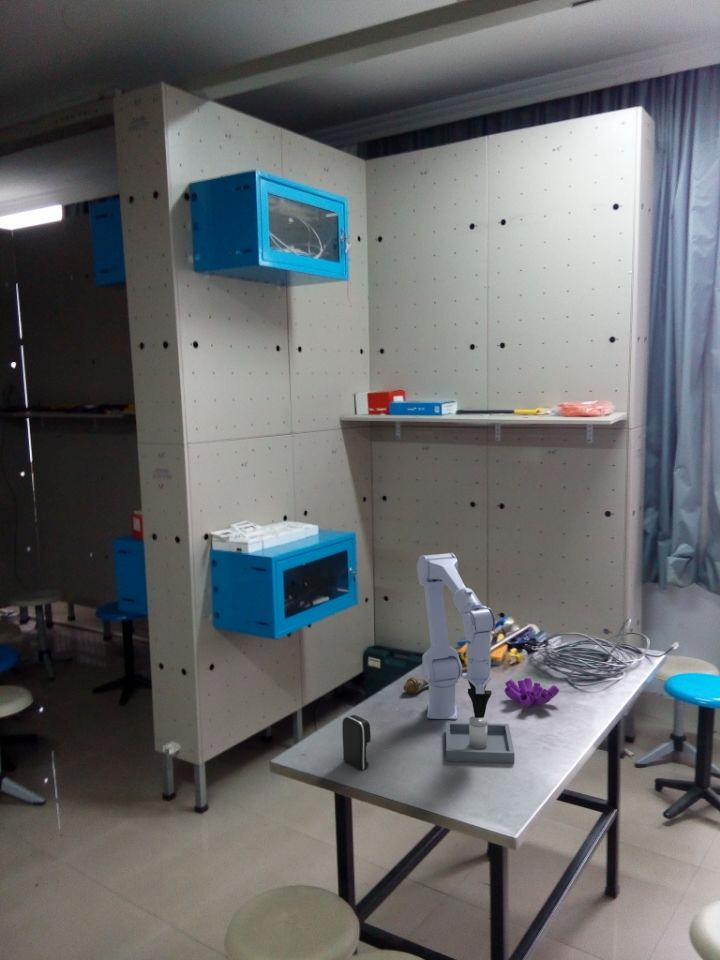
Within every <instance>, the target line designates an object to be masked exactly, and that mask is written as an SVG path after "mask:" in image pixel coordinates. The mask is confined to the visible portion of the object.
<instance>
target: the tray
mask: <svg viewBox="0 0 720 960" xmlns="http://www.w3.org/2000/svg"><path fill="white" fill-rule="evenodd" d="M511 735H512V734H511V729H510V725H509V723H489V722H487V747H485V748H482V749H476V748H473V747H471V746H470V745H469V722H454V721H449V722H447V721H446V722H445V745H446V747H445V748H446V749H445V752H446V755H445V757H446V758H445V760H446V762H465V763H466V762H467V763H469V762H470V763H471V762H472V763H491V764H492V763H494V764H515V749H514V744H513V739H512V736H511Z"/></svg>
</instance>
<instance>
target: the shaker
mask: <svg viewBox="0 0 720 960" xmlns="http://www.w3.org/2000/svg"><path fill="white" fill-rule="evenodd" d="M468 723H469V745H470V746H471V747H473V748H476V749H482V748H485V747H487V723H488V718H486V717H485V716H484V718H475V715H473V716H470V717H469V722H468Z"/></svg>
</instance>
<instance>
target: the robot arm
mask: <svg viewBox="0 0 720 960" xmlns="http://www.w3.org/2000/svg"><path fill="white" fill-rule="evenodd" d="M416 569H417V570H416V571H417V578H418V579H417V580H418V585H420V586H421V587H423V589H424V596H425V597H424V599H425V607H426V612H427V613H426V614H427V615H426V616H427V623H428V631H429V638H430V639H429V640H430V647H429V648H428V649H427V650H426V651H425V652H424V653H423V654H422V656H421V657H422V663H421V664H422V665H421V672H422V677H423V679H424V680H425V681H426V682H427V683H429V684H428V703H427V714H426V715H427V719H431V720H432V719H435V720H436V719H437V720H440V719H441V720H457V719H458V711H457V710H458V705H457V703H456V684H458V683H459V682H458V681H459V680H460V679H461V677H462V679H464V680H467V681H468V684H469V687H470V688H467V694H468V696H469V698H470V701H471V703H472V708H473V709H472V710H473V714H474V715H473V716H475V718H484V717H485V715H486V710H487V706H488V705H487V704H488V702H489V699H490V698H491V696H492V693H493V692H492V690H488V689H487V684H489V683H490V681H491V680H492V674H491V671H492V670H491V668H492V667H491V664H492V663H491V661H492V659H491V655H492V653H491V648H492V647H491V646H492V645H491V644H492V642H491V641H492V640H491V639H492V638H491V635H492V632H493V631H495V629H496V617H495V614H494V612H493V610H492V609H491V608H490V607H487V606H486V605H483V604H482V603H481V601H480V599H479V598H478V596H477V595H476V593H475V592H474V590H473V589H472V588H469V587H466V585H465V584H464V582H463V579H462V578H461V575H460V574H459V562H458V559H457V556H456V554H454V553H453V552H448V553H438V554H427V555H425V554H421V555H420V556H419V557H418V560H417V563H416ZM445 586H446V587H447V588H448V590H449V591H450V592H451V593H452V595H453V596H452V603H453V604H454V606H455V607H456V609H457V611H458V612H459V613H460V615H461V617H462V621H461V622H462V626H463V630H464V638H465V640H466V667H467V672H465V673H462V668H463V665H462V662H461V659H460V657H459V655H460V654H459V652H458V651H457V650H456V649H455V648H453V647H452V646H450V641H449V634H448V626H447V625H448V624H447V616H446V609H445V599H444V592H443V588H444V587H445ZM486 689H487V690H486Z"/></svg>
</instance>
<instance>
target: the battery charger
mask: <svg viewBox="0 0 720 960" xmlns="http://www.w3.org/2000/svg"><path fill="white" fill-rule="evenodd" d="M341 726H342V728H341V729H342V749H343V750H342V751H343V755H342V756H343V757H342V758H343V761H344V762H345V763H347V764H348V765H350V766H352V767H354V768H356V769H357V770H360V771H362V770H364V769H366V768H368V767H369V762H368V760H367V746H368V744H369V743H371V741H372V738H371V737H372V735H371V734H372V733H371V725H370V722H369V721H368V720H367V719H365V718H363V717H361V716H358V715H357V714H353V715H348V716H346V717H343V720H342V725H341Z"/></svg>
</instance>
